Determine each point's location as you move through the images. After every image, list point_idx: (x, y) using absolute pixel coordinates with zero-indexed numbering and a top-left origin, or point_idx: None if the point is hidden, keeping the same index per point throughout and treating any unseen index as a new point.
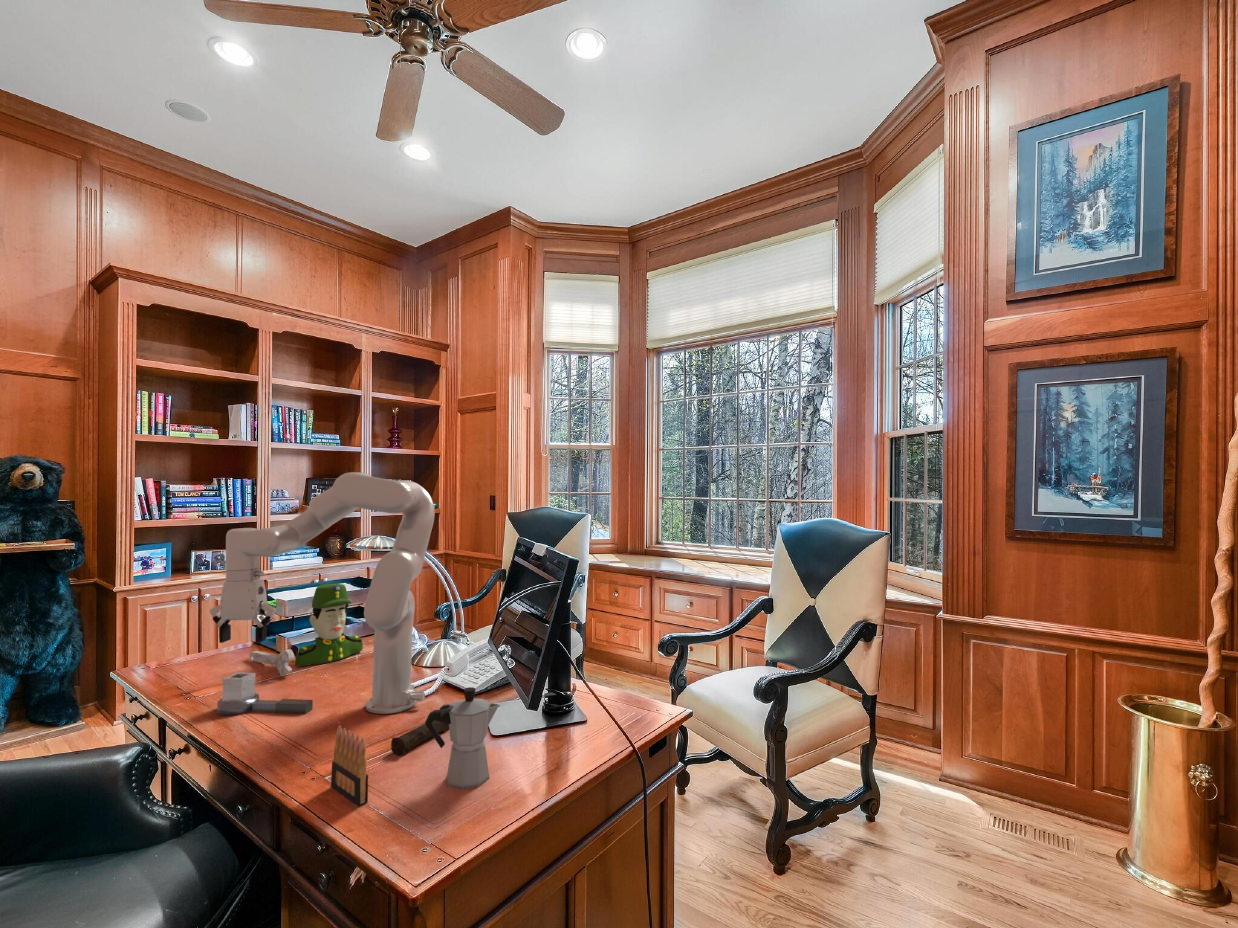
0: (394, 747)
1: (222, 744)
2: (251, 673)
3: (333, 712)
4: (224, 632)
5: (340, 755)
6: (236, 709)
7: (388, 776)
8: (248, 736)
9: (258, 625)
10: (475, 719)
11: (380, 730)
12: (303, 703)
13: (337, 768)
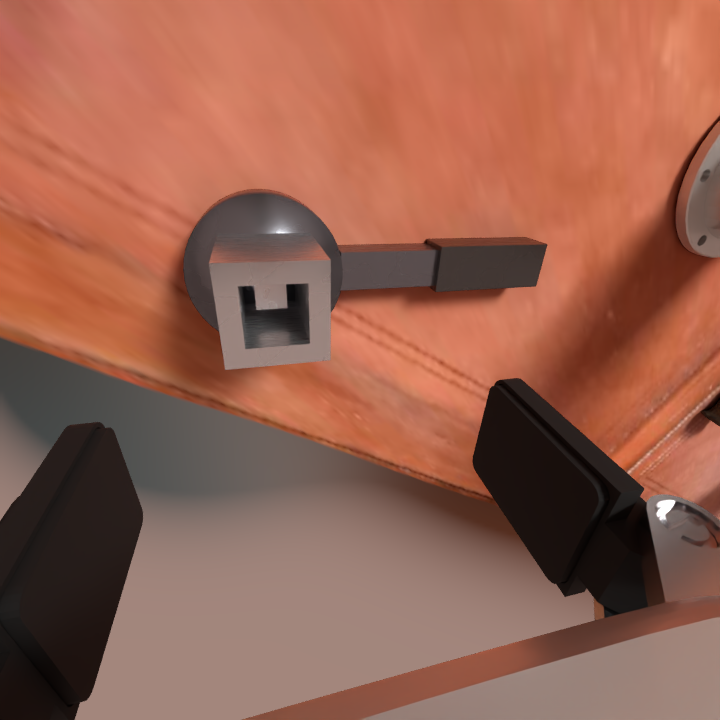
0: (715, 423)
1: (396, 460)
2: (315, 272)
3: (589, 254)
4: (105, 597)
5: None
6: None
7: (686, 465)
8: (430, 420)
9: (603, 603)
10: None
11: (692, 338)
12: (526, 280)
13: None
